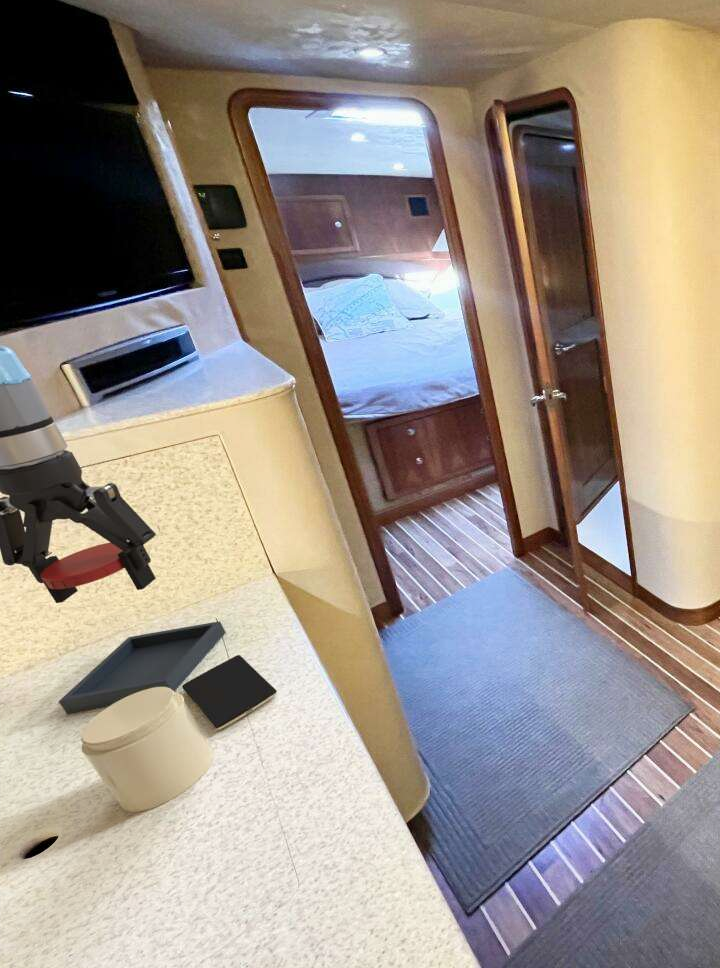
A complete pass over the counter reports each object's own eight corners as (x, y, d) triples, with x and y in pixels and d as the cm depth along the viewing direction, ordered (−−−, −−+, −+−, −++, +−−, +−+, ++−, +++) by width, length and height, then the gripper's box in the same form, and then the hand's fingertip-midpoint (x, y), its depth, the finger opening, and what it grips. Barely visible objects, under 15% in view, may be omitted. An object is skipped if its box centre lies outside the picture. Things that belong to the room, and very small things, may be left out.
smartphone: (216, 728, 75) (180, 685, 83) (219, 734, 75) (183, 690, 83) (277, 690, 81) (238, 653, 88) (280, 696, 81) (241, 658, 89)
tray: (66, 714, 80) (57, 701, 79) (135, 648, 92) (128, 636, 91) (173, 693, 83) (165, 681, 82) (226, 632, 95) (220, 620, 94)
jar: (100, 821, 65) (51, 755, 61) (153, 754, 73) (114, 692, 69) (186, 801, 67) (145, 736, 62) (229, 738, 75) (195, 676, 71)
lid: (133, 569, 79) (128, 559, 79) (37, 598, 74) (30, 588, 73) (144, 542, 86) (139, 533, 86) (56, 567, 81) (50, 558, 80)
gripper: (145, 437, 79) (207, 563, 87) (-43, 459, 74) (41, 589, 83) (103, 458, 72) (175, 591, 80) (-106, 483, 68) (-7, 621, 76)
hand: (107, 590), depth 82 cm, fingers closed on lid, 9 cm apart
